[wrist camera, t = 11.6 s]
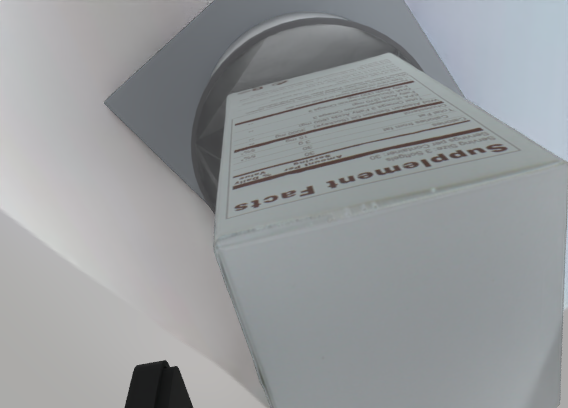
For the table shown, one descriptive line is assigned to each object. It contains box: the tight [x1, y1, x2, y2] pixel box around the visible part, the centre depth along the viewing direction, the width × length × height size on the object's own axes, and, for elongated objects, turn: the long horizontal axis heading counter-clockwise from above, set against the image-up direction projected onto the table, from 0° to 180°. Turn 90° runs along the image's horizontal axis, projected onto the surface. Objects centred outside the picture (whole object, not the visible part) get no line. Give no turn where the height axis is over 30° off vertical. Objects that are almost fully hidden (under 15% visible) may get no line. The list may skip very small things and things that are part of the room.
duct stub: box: [104, 0, 466, 214], centre depth 25 cm, size 15×15×6 cm
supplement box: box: [213, 53, 568, 408], centre depth 17 cm, size 7×7×13 cm
